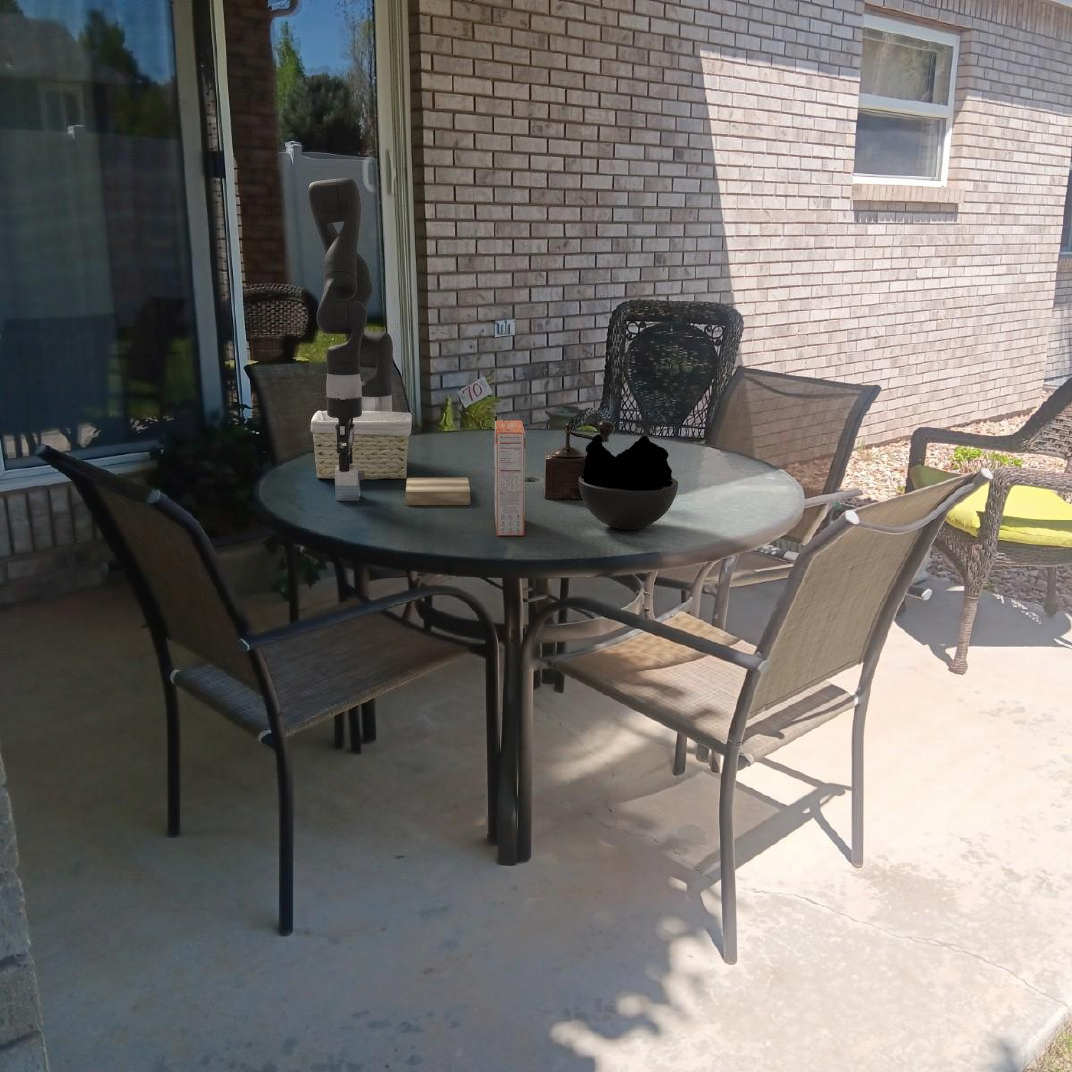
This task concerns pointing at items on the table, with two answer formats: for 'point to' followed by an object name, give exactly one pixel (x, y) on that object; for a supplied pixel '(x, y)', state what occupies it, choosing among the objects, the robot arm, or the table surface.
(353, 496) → the gray block
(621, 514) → the bowl of black rocks
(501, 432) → the cracker box
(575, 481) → the wooden coffee grinder
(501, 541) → the table surface
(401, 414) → the storage basket
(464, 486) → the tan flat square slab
